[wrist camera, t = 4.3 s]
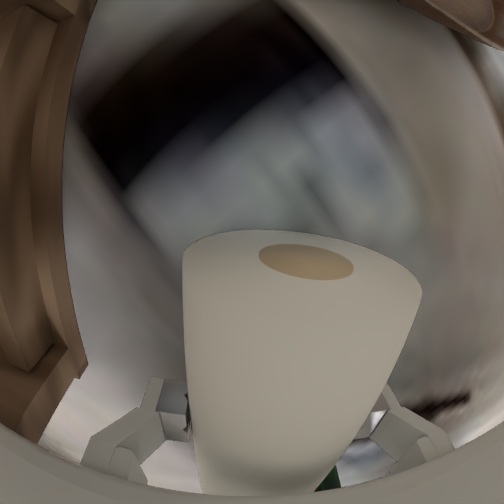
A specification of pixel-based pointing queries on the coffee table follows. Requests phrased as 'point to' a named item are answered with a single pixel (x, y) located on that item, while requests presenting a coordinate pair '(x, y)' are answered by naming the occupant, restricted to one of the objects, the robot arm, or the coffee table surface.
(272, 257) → the paper roll
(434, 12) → the plant saucer
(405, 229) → the coffee table surface
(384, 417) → the robot arm
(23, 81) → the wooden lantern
